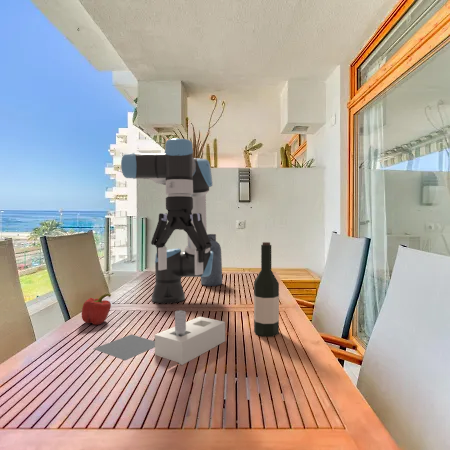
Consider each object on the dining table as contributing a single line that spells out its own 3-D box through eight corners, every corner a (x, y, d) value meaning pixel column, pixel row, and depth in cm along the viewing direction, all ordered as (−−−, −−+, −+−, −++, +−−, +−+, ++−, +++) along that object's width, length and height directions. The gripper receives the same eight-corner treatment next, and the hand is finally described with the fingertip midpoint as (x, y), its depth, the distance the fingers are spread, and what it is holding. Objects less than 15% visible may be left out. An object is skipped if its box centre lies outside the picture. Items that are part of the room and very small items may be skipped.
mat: (93, 349, 97) (93, 348, 97) (131, 335, 109) (131, 334, 109) (125, 361, 90) (125, 360, 90) (162, 344, 101) (162, 343, 101)
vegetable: (105, 316, 130) (105, 290, 130) (118, 322, 123) (117, 295, 122) (76, 322, 122) (76, 295, 122) (88, 329, 115) (87, 300, 115)
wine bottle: (280, 329, 114) (281, 241, 113) (276, 338, 106) (276, 243, 105) (257, 327, 117) (256, 241, 116) (250, 335, 109) (250, 243, 108)
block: (182, 365, 87) (181, 342, 87) (154, 356, 93) (154, 334, 93) (225, 341, 104) (225, 321, 104) (199, 334, 110) (199, 316, 109)
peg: (173, 354, 94) (172, 312, 94) (180, 351, 96) (180, 309, 96) (180, 357, 92) (180, 313, 92) (188, 353, 95) (187, 311, 94)
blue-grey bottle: (226, 283, 192) (226, 234, 191) (214, 287, 182) (214, 235, 181) (209, 281, 199) (208, 233, 198) (196, 284, 188) (196, 234, 188)
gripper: (138, 196, 97) (139, 269, 98) (206, 194, 83) (207, 279, 84) (157, 197, 103) (158, 266, 104) (224, 195, 89) (224, 274, 90)
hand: (180, 272), depth 94 cm, fingers open, 13 cm apart
